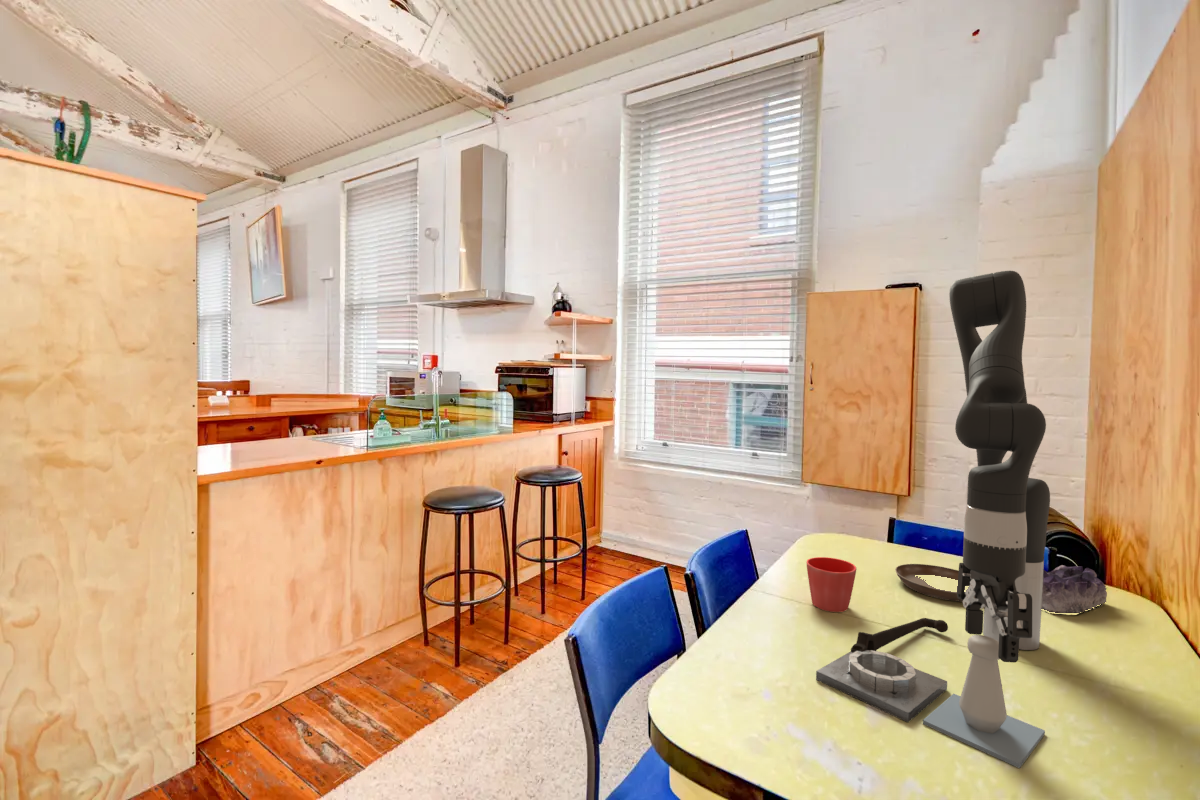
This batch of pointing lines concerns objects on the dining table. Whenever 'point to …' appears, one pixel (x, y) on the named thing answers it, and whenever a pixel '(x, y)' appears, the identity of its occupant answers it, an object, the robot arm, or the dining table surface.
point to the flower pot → (830, 583)
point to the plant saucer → (919, 585)
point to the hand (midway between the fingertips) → (989, 646)
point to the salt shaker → (983, 687)
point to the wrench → (894, 634)
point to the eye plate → (883, 682)
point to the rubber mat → (1003, 744)
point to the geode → (1072, 590)
